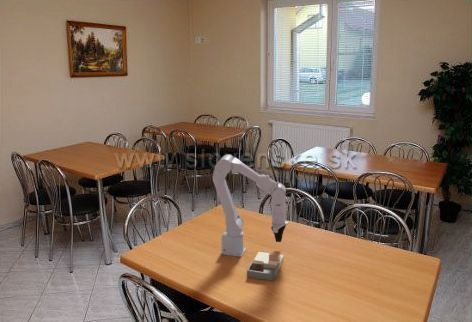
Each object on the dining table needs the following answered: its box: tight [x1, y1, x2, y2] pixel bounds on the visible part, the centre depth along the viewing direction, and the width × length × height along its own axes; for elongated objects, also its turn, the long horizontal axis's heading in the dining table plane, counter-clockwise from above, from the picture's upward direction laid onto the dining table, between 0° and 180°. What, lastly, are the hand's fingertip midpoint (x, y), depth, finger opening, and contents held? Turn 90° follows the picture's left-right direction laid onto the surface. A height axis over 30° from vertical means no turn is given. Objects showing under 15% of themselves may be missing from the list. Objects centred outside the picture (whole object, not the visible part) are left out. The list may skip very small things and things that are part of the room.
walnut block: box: [252, 259, 264, 272], centre depth 160 cm, size 4×4×2 cm
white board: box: [253, 251, 285, 270], centre depth 167 cm, size 11×9×2 cm
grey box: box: [246, 259, 280, 282], centre depth 159 cm, size 11×9×3 cm
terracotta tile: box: [269, 250, 281, 261], centre depth 166 cm, size 4×4×2 cm
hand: (278, 241), depth 172 cm, fingers closed
